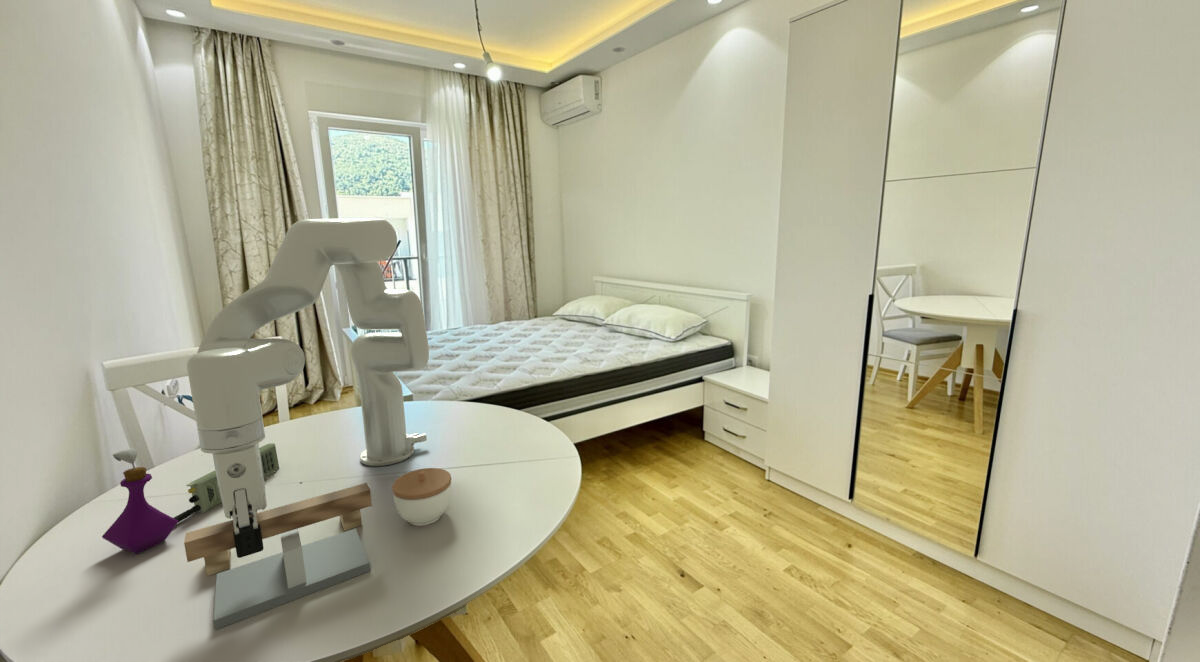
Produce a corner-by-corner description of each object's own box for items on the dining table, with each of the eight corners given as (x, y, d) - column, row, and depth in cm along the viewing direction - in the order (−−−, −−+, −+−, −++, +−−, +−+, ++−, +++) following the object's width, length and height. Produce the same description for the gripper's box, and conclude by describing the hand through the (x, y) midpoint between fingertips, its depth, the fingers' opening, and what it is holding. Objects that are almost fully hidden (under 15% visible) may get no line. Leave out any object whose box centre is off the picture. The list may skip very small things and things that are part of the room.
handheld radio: (282, 469, 115) (179, 530, 90) (270, 469, 115) (164, 529, 91) (277, 443, 114) (171, 497, 89) (265, 443, 114) (156, 497, 90)
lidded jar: (398, 539, 86) (393, 491, 85) (393, 510, 96) (389, 467, 94) (458, 523, 91) (455, 477, 89) (448, 497, 101) (445, 455, 99)
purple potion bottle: (181, 537, 88) (164, 445, 85) (131, 562, 81) (110, 463, 78) (155, 529, 90) (138, 440, 87) (104, 553, 83) (83, 457, 80)
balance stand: (356, 535, 88) (352, 498, 86) (370, 570, 78) (366, 529, 77) (218, 582, 76) (210, 539, 74) (215, 629, 66) (206, 582, 65)
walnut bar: (368, 498, 83) (366, 482, 83) (372, 505, 81) (370, 489, 81) (189, 551, 69) (185, 532, 69) (187, 562, 67) (184, 542, 66)
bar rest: (356, 513, 95) (354, 495, 94) (362, 525, 91) (359, 506, 90) (208, 559, 81) (205, 538, 81) (207, 575, 77) (203, 553, 77)
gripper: (266, 445, 65) (283, 565, 68) (261, 412, 78) (276, 515, 81) (195, 460, 61) (217, 588, 64) (202, 423, 74) (220, 531, 77)
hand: (250, 546), depth 73 cm, fingers closed on walnut bar, 3 cm apart
